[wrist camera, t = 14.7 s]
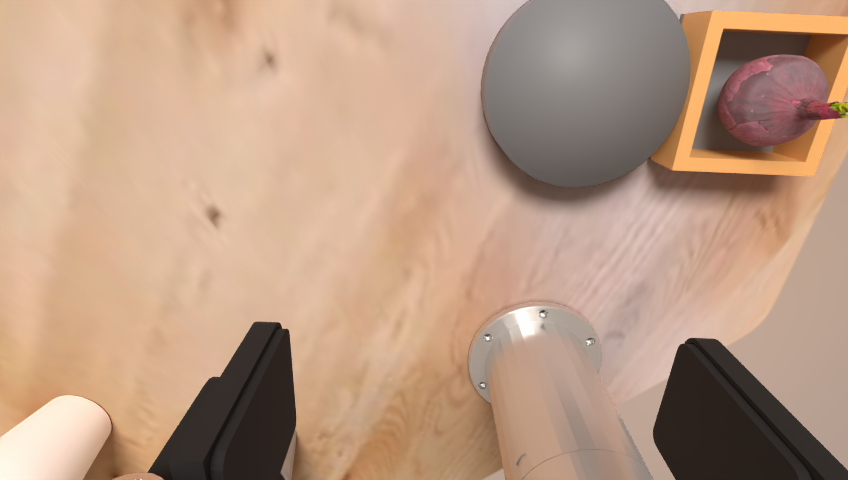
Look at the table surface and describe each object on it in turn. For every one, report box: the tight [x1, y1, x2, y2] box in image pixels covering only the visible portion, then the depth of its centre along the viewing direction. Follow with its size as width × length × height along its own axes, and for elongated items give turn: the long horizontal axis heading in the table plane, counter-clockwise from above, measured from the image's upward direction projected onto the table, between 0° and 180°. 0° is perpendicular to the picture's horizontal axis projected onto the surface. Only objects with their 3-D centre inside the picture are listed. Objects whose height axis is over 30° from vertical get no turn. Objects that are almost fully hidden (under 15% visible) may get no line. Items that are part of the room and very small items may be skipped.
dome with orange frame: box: [481, 0, 848, 188], centre depth 34 cm, size 14×24×4 cm, turn 88°
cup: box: [0, 395, 111, 480], centre depth 43 cm, size 9×9×12 cm
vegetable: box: [718, 54, 848, 146], centre depth 31 cm, size 6×6×10 cm
